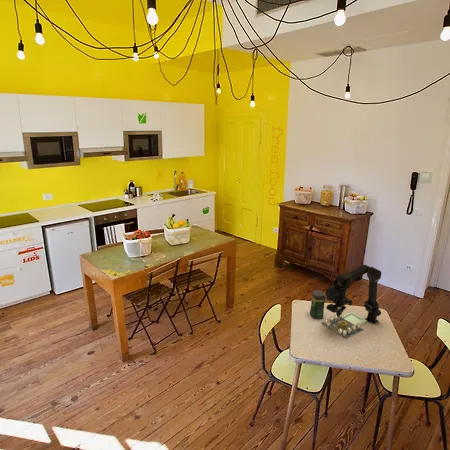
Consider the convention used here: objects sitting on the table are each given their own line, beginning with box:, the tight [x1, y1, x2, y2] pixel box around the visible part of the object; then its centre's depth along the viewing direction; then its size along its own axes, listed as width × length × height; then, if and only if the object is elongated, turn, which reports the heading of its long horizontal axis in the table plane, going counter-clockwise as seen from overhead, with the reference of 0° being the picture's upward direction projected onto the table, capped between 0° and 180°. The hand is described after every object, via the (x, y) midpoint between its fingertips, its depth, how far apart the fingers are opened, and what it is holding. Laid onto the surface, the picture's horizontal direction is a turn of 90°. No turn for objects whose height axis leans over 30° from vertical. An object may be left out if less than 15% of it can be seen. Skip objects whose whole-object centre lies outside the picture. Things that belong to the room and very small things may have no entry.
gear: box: [338, 321, 348, 329], centre depth 222 cm, size 6×6×2 cm
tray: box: [342, 311, 368, 327], centre depth 229 cm, size 9×12×2 cm
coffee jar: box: [309, 289, 327, 320], centre depth 231 cm, size 10×8×19 cm
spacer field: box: [320, 313, 364, 340], centre depth 221 cm, size 18×20×4 cm
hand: (337, 316), depth 215 cm, fingers closed
